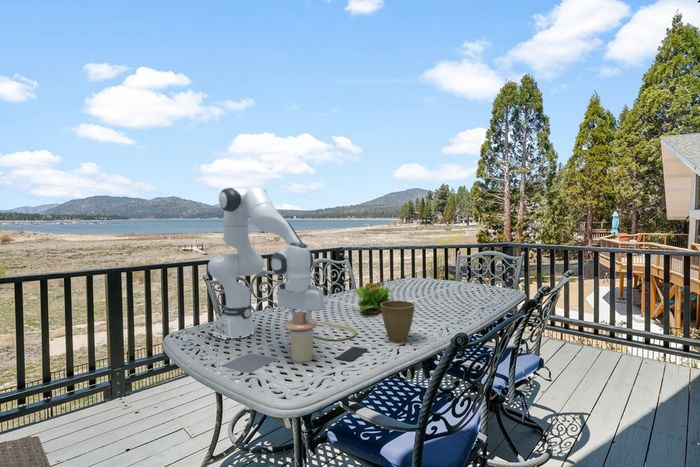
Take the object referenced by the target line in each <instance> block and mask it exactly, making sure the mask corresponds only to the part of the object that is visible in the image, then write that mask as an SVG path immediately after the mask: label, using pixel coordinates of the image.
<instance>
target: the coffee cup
mask: <svg viewBox="0 0 700 467" xmlns="http://www.w3.org/2000/svg"><path fill="white" fill-rule="evenodd" d="M288 333H289V339H290V340H289V341H290V349H291V357H292V361H293V362H296V363H306V362H310V361H312V360H313V356H314V355H313V354H314V352H313V351H314V348H313V347H314V337H313V335H314V328H311V329H306V330H289V332H288Z"/></svg>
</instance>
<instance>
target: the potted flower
mask: <svg viewBox="0 0 700 467" xmlns="http://www.w3.org/2000/svg"><path fill="white" fill-rule="evenodd" d="M384 285H385V282H384V281H382V282H380V281H377V282H376V283H372V282H368V283H365V285H364V286H360V287H359V289H358V288H357V289H355V290H353V292H354V293H356V294H357V295H358V297H360V299H358V302H357V304H358V306H359V307H360V310H359V311H358V312H359V314H364V313H365V314H378V313H381V312H382V311H381V303H383V302H387V301H395V300H394V299H390V298H389V297H390V293H393V291H392V290H390V288H388V287H387V286H386V287H385V288H384ZM381 286H382V287H381Z"/></svg>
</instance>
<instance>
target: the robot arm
mask: <svg viewBox="0 0 700 467" xmlns="http://www.w3.org/2000/svg"><path fill="white" fill-rule="evenodd" d="M218 202H219V205H220V208H221V209H222V210H223V211H224V212H223V241H224V243H225V244H226V245H228V246H229V247H231V248H232V249H236V251H237V253H232V254H220V255H216V256H213V257H211V258H210V259H209V262H208V263H207V270H208V273H209V275H210V276H211V277H212V278H214V279H215V280H217V281H218V282H219V283H220V284H221V286H222V287H223V290H224V296H225V306H224V307H223V308H222V311H223V314H222V315H221V316H220V317H219V318H217V319H216V320H215V321H214V324H213V330H214V331H215V332H218V333H220V334H223V335H226V336H228V337H229V338H230V337H239V336H246V335H250V334H252V333H253V332H254V331H255V327H254V323H253V322H254V321H253V317H252V304H251V294H250V293H251V290H250V288H249V287H248V286H247V285H245V284H244V283H241V282H238V281H237V278H238V277H239V278H241V277H247V276H248V277H249V276H255V275H257V274H260V273H261V272H263V270H264V268H265V261H264V259H263V257H262V256H261V254H259V253H258V252H256V251H255V249H254V248H253V246H252V245H251V242H250V239H249V238H250V237H249V236H250V235H249V221H248V216H249V219H250V220H251V223H252V224H253V225H254V226H255V228H257V229H258V230H260V231H263V232H267V233H271V234H274V235H277V236H279V237H280V238H282V239H283V240H284V242H285V243H286V245H287V246H286V247H285V248H284V249H281V250H279V251H276V252H274V253H273V255H272V256H271V258H270V267H271V270H272V272H273V273H274V274H276V275H277V276H285V275H287V280H285V281H284V282H280V283H278V284H277V289H278V291H277V294H276V296H277V298H276V300H277V301H276V302H277V305H278V307H279V308H285V309H289V312H290V313H291V316H292V317H291V318H292V320H294V318H293V314H294V313H296V312H297V311H296V310H302V311H305V312H306V313H307V314H306V316H305V317H304V321H307V322H308V321H309V320H310V319H311V318H310V316H311V314H312V313H313V312H320V311H323V310H324V309H325V301H324V291H323V289H322V288H321V287H320V286H319V285H312V275H311V269H312V268H313V265H314V257H313V256H314V255H313V254H312V252H311V251H310V249H309V246H308V244H306V243H304V242H303V241H302V240H301V238H300V237H299V235H298V234H297V232H296V231H295V229H294V228H293V226H292V225H291V223H290V222H289V221H288V220H287V219H286V218H284V217H283V216H282V215H281V214H280V213H279V211H277V209H276V207H275V205H274V204H273V201H272V200H271V198H270V196H269V195H268V193H267V191H266V190H265V189H263V188H262V187H258V186H256V187H254V186H253V187H250V186H249V187H248V186H243V187H242V186H241V187H227V188H224V189H222V190H221V191H220V194H219V198H218ZM253 327H254V328H253Z"/></svg>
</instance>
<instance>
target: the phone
mask: <svg viewBox="0 0 700 467" xmlns="http://www.w3.org/2000/svg"><path fill="white" fill-rule="evenodd" d="M367 351H369V350H368V348H367V347H358V346H351V347H350V348H348V349H347V350H345V351H344V352H342V353H341V354H339V355H338V356H336V358H335V359H336V360H337V361H342V362H349V363H353V362H354V361H356V360H357V359H359V357H361V356H363V355H364V353H366V352H367Z"/></svg>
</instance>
